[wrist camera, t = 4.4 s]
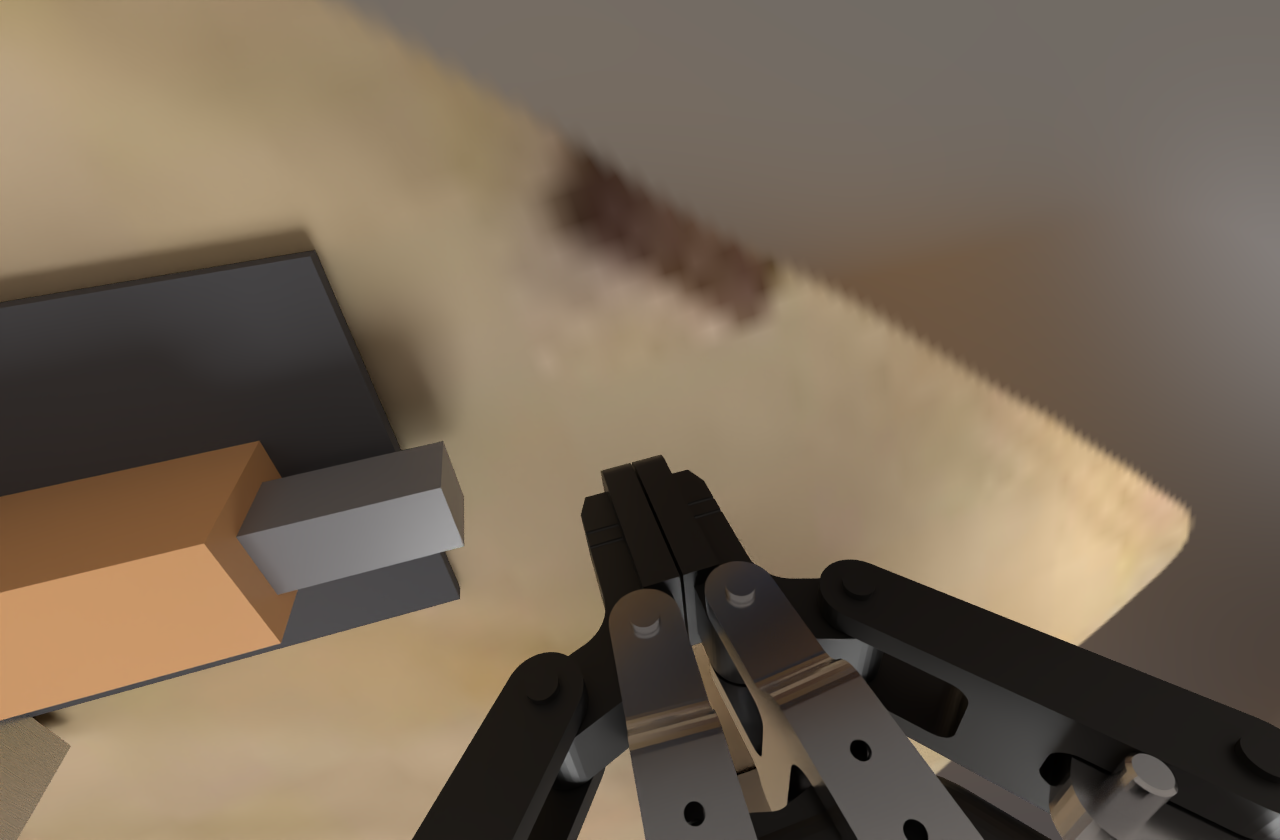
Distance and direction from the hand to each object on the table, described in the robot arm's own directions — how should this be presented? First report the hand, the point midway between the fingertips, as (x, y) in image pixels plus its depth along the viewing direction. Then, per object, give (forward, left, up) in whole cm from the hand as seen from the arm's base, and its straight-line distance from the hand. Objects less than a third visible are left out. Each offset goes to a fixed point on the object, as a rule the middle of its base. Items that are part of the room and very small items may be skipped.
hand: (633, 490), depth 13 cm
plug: (+11, 0, -4) cm, 12 cm away
